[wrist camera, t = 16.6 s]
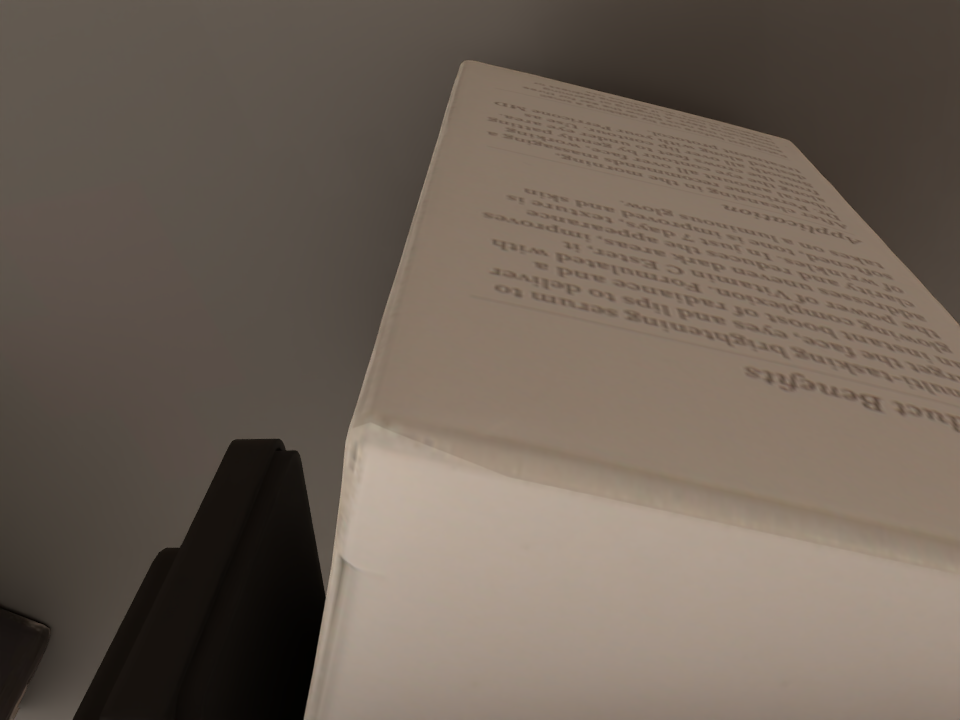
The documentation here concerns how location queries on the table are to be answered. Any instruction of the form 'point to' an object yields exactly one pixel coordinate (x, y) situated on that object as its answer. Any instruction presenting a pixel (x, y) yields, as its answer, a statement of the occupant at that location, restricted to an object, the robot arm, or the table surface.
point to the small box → (643, 437)
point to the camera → (18, 658)
